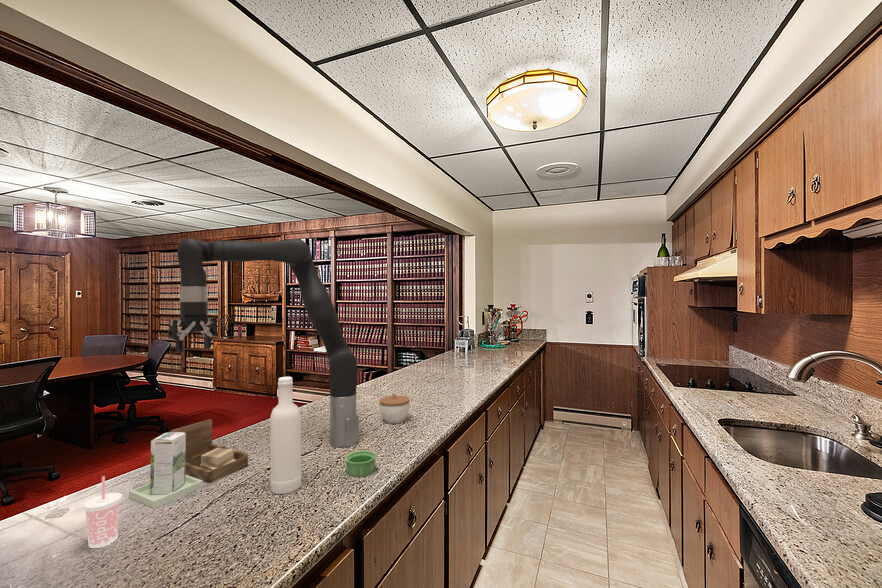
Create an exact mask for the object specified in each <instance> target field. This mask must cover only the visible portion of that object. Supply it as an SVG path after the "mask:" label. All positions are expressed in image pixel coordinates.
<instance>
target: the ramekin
mask: <svg viewBox="0 0 882 588" xmlns="http://www.w3.org/2000/svg"><path fill="white" fill-rule="evenodd" d="M376 457H377V455H376V453H375V452H373V451H371V450H357V451H353V452H350V453H348V454H347V455H346V456H345V458H344V460H345V463H346V465H345V466H346V472H347V474H348V475H349V476H351V477H355V478H357V477H358V478H359V477H366V476H369V475H370V474H372V473H374V471H375V467H376V466H375V464H376Z"/></svg>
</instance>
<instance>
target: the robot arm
mask: <svg viewBox="0 0 882 588" xmlns="http://www.w3.org/2000/svg"><path fill="white" fill-rule="evenodd" d="M176 255H177V260H178V265H179V266H178V267H179V269H180V292H179V316H180V318H179V319H173V318H172V319H169V322H168V336H167V337H168V339H170V340H171V339H172V340H173V341H175V342H174V343H175V345H174V346H175V351H176V352H177V353H183V352H184V338H185V337H186V336H187V335H188V334H189V333H194V332H197V333H198V332H200V333H201V334H202V335H203V336H204V337H203V348H204V350H209V349H211V348H212V337H214V336H217V335H218V321H217V320H218V319H217V317H208V316H207V315H208V311H209V310H208V288H207V271H205V269H204V267H203V266H204V265H203V263H207V262H208V263H209V262H228V263H229V262H231V263H234V262H237V263H239V262H241V263H242V262H243V263H244V262H257V261H258V262H259V261H273V262H279V263H285V264H288V265H289V266H290V269H291V270H292V273H293V275H294V276H295V278H296V280H297V283H298V286H299V291H300V295H301V299H302V303H303V305H304V306H303V307H304V308H305V311H306V313H307V316H308V318H309V320H310V322H311V323H312V324H311V325H313V326H312V327H314V329H315V331H316V333H317V334H318V336H319V337H320V340H321V341H322V343H323V345H324V348H325V351H326V355H327V357H328V363H329V444H330V446H332V447H334V448H335V447H336V448H337V447H338V448H342V447H343V448H344V447H345V448H349V447H350V446H352V445H354V444H356V443H358V442H359V441H360V426H359V424H360V416H359V414H357V388H358V387H357V386H358V372H357V371H358V362H357V357H356V356H355V355H354V353H353V351H352V350H351V348H350V346H349V345H348V343H347V341H346V340H345V337H344V336H343V333H342V329H341V325H340V322H339V318H338V315H337V311H336V309H335V306H334V304H333V301H332V298H331V297H330V294H329V293H328V290H327V289H326V287H325V284H324V283H323V282H322V280H321V278H320V276H319V275H318V272H317V268H316V266H315V262H314V259H313V256H312V252H311V248H310V247H309V245H308V243H306V242H305V241H304V240H303V239H300V238H291V239H284V240H276V241H273V240H272V241H249V240H247V241H246V240H229V239H227V240H225V239H224V240H222V239H221V240H216V241H203V240H199V239H195V238H193V237H192V238H190V237H187V238H185V239H182V240H181V241H180V242H179V244H178V245H177V254H176ZM207 324H208V326H207ZM179 326H181V327H180V329H178V327H179Z"/></svg>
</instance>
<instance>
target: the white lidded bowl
mask: <svg viewBox="0 0 882 588" xmlns="http://www.w3.org/2000/svg"><path fill="white" fill-rule="evenodd" d="M378 403H379V412H380V416H381V417H382V419H383V420H384V421H385V422H386V424H391V423H396V424H400V422H401V423H403V422H404V420H405V419H406V417H407V416H408V414H409V409H410V398H409V396H405V395H396V394H392V395H388V396H384V397H381V398H379V402H378Z"/></svg>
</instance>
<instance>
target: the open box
mask: <svg viewBox="0 0 882 588" xmlns="http://www.w3.org/2000/svg"><path fill="white" fill-rule="evenodd" d="M170 432H182V433H186V451H185V475H188V476H191V477H194V478H197V479H200V480H202V481H203V483H207V484H211V483H213V482H215V481H217V480H220V479H222V478H225V477H227V476H229V475H231V474H234V473H236V472H239V471H240V470H242V469H245V468H248V467H249V453H247V452H245V451H241V450H236V449H234V460H235V461H232V462H230V463H228V464H225V465H223V466H220V467H218V468H215V469H213V470H207V469H204V468H201V467H200V464H201V456H202V455H204V454H206V453H208V452H210V451H212V450H214V449H216V448H223V449H231V448H229V447H226V446H225V445H218V444H215V443H213V419H206V420H203V421H199V422H195V423H191V424H188V425H184V426H181V427H178V428H175V429H171V430H170Z"/></svg>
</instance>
